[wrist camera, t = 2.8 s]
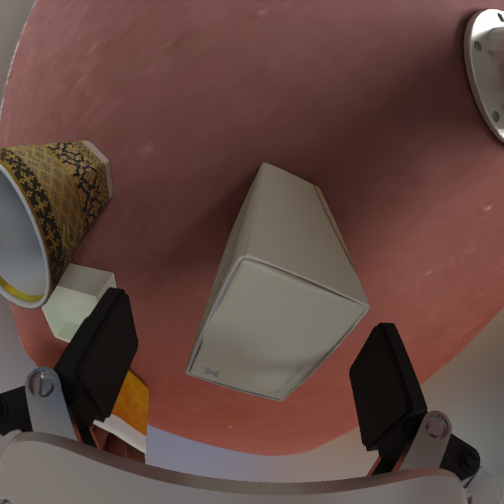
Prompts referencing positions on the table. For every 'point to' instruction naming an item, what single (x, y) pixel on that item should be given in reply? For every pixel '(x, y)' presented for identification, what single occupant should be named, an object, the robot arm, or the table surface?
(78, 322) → the holder
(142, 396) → the bucket of meat
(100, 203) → the ceramic cup
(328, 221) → the skincare box
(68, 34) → the table surface
